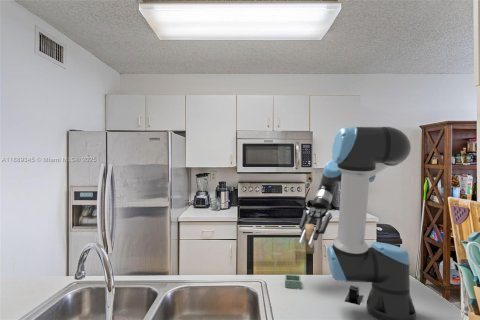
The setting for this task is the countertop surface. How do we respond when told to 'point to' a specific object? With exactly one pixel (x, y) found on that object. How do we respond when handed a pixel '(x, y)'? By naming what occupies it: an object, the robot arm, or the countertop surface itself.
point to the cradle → (293, 281)
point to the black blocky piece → (354, 296)
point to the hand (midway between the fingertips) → (305, 244)
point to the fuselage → (308, 233)
